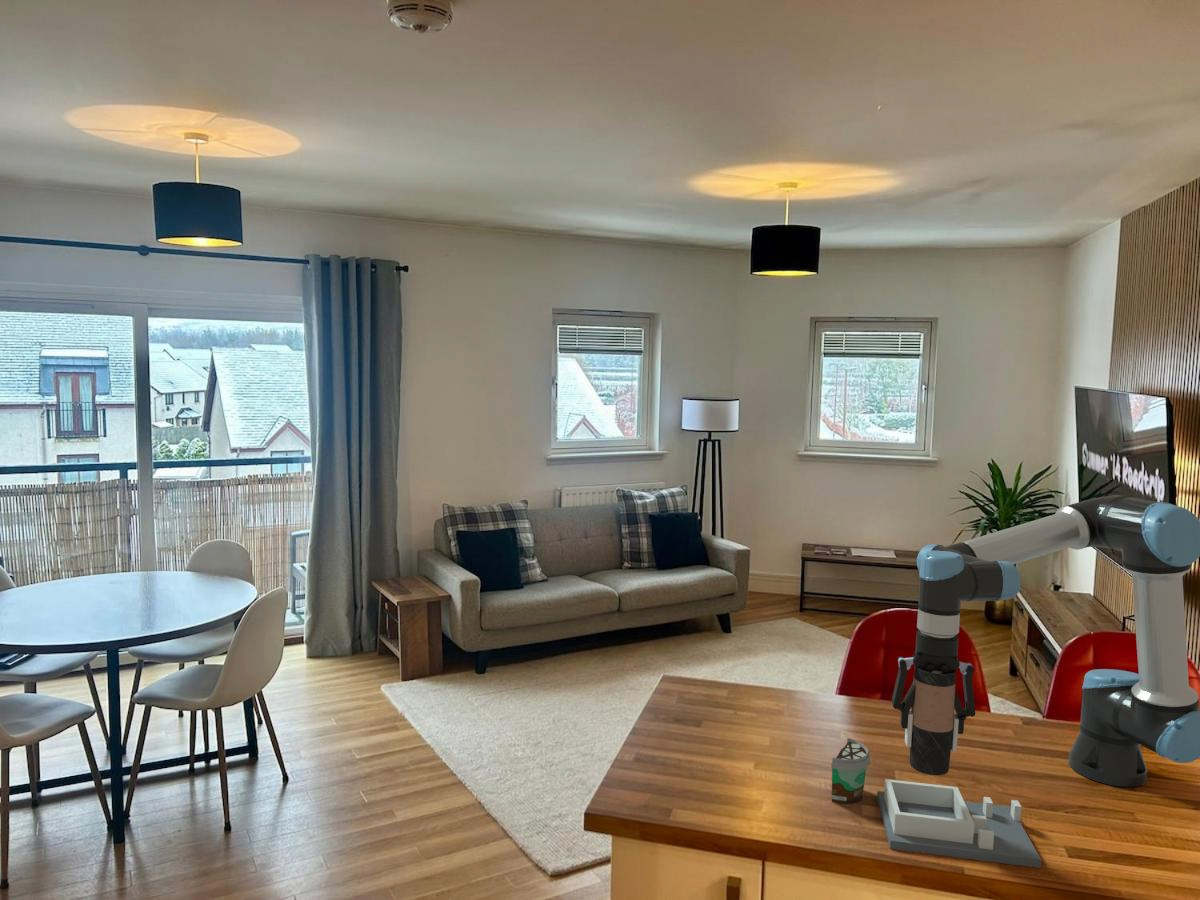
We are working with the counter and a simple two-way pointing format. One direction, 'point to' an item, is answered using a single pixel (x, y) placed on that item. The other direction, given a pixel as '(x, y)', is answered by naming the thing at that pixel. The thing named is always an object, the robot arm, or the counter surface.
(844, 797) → the food container
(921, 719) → the travel mug
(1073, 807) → the counter surface
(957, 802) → the end holder
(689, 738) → the counter surface
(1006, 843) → the grey fixture board
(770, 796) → the counter surface
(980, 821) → the clips
